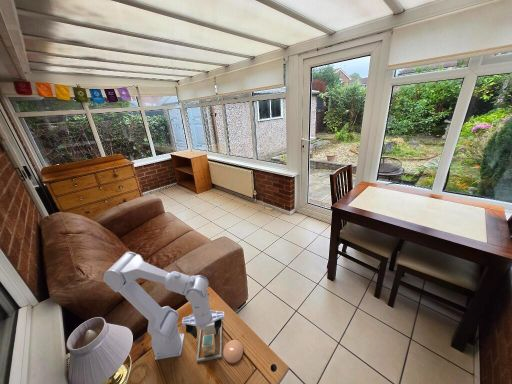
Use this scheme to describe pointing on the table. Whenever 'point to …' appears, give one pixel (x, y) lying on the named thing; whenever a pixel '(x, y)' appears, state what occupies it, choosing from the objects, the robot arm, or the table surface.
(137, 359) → the table surface
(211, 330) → the grey block
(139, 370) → the table surface
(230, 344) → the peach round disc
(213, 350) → the tan and teal block
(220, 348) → the open rectangular frame
